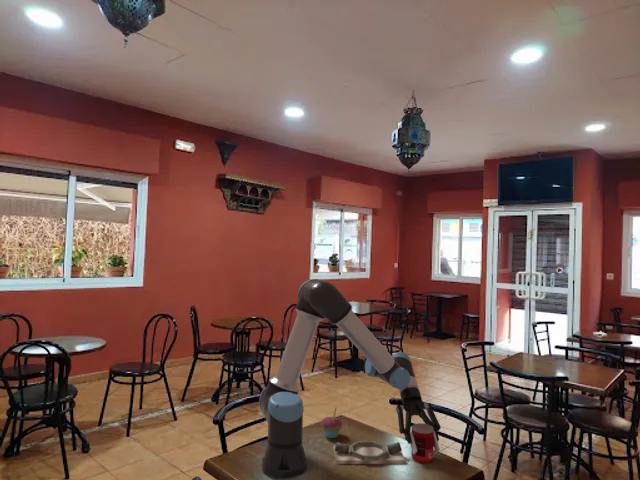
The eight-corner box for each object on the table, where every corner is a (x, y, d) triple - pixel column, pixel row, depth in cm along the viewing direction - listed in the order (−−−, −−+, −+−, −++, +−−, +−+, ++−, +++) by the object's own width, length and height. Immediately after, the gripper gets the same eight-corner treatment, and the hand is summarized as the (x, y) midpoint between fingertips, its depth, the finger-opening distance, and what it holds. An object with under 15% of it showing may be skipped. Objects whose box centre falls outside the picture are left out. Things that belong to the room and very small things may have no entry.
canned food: (431, 454, 162) (431, 423, 162) (435, 464, 154) (435, 432, 154) (410, 452, 162) (410, 422, 163) (412, 463, 154) (413, 431, 155)
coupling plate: (336, 464, 152) (336, 450, 152) (333, 448, 165) (333, 435, 165) (405, 464, 153) (405, 450, 154) (397, 448, 166) (397, 435, 166)
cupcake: (345, 434, 178) (346, 404, 178) (335, 442, 170) (335, 410, 171) (327, 429, 182) (327, 400, 182) (316, 436, 175) (316, 406, 175)
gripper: (431, 394, 176) (450, 454, 159) (381, 396, 172) (395, 458, 155) (437, 385, 170) (457, 445, 154) (386, 387, 167) (401, 449, 150)
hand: (426, 451), depth 155 cm, fingers closed on canned food, 8 cm apart
